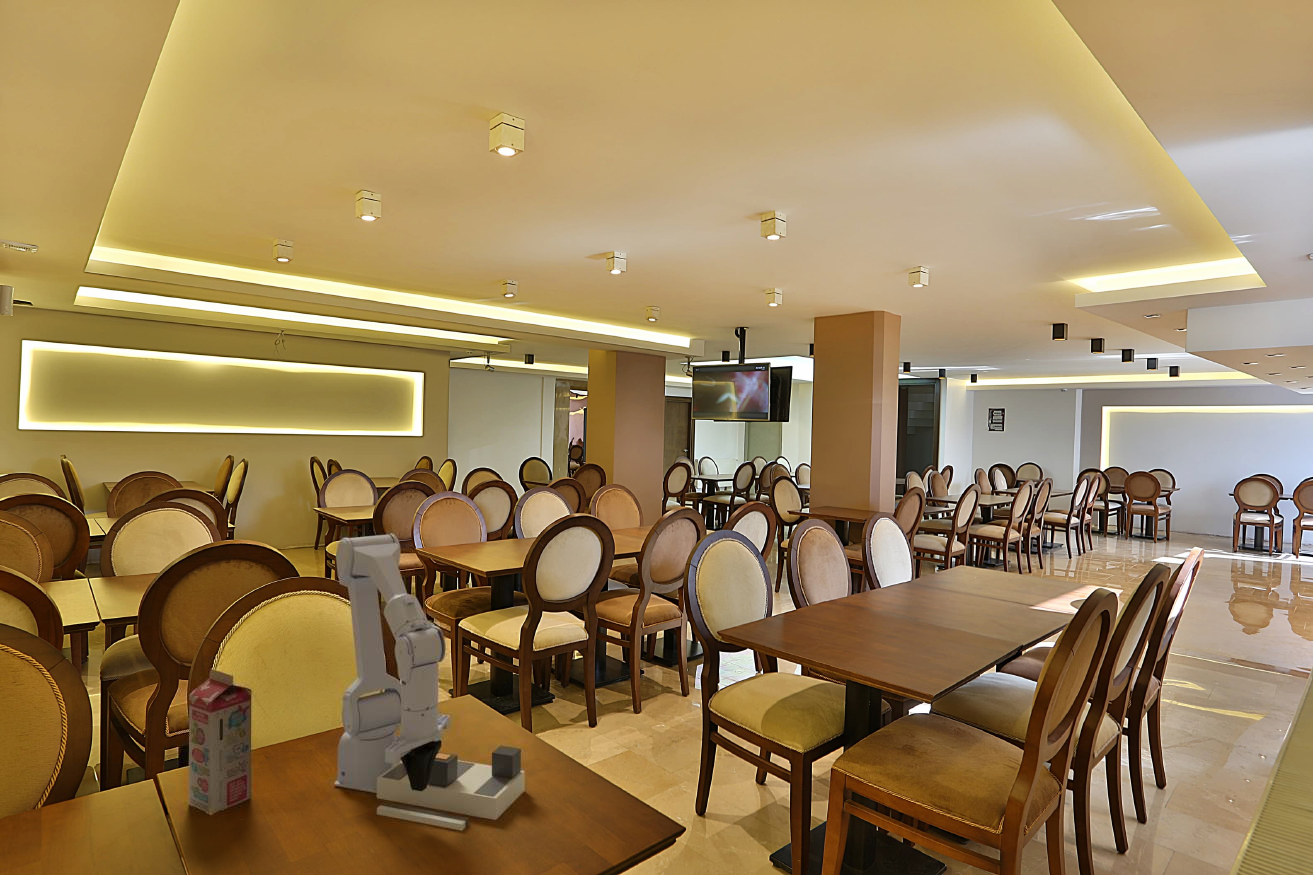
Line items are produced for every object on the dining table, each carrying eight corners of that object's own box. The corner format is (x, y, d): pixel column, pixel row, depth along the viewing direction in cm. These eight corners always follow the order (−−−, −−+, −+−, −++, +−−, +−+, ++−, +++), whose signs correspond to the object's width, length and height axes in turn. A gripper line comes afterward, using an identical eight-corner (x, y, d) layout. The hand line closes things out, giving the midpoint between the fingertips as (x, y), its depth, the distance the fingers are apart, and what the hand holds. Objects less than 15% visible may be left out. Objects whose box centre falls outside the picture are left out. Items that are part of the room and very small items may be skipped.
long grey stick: (376, 814, 117) (376, 807, 117) (384, 808, 119) (384, 802, 119) (462, 830, 113) (462, 824, 113) (468, 824, 115) (468, 817, 115)
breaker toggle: (426, 782, 120) (426, 758, 120) (437, 774, 123) (437, 750, 123) (447, 786, 119) (447, 761, 119) (457, 778, 122) (457, 753, 122)
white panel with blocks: (376, 797, 123) (377, 753, 123) (412, 771, 132) (412, 730, 132) (495, 819, 116) (496, 773, 116) (524, 790, 125) (524, 747, 125)
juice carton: (228, 787, 126) (229, 663, 126) (250, 797, 122) (251, 669, 122) (188, 804, 120) (189, 674, 120) (210, 815, 117) (211, 681, 116)
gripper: (413, 724, 107) (412, 815, 107) (466, 691, 121) (465, 771, 121) (373, 719, 109) (373, 807, 109) (430, 687, 123) (429, 765, 123)
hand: (419, 788), depth 115 cm, fingers closed
